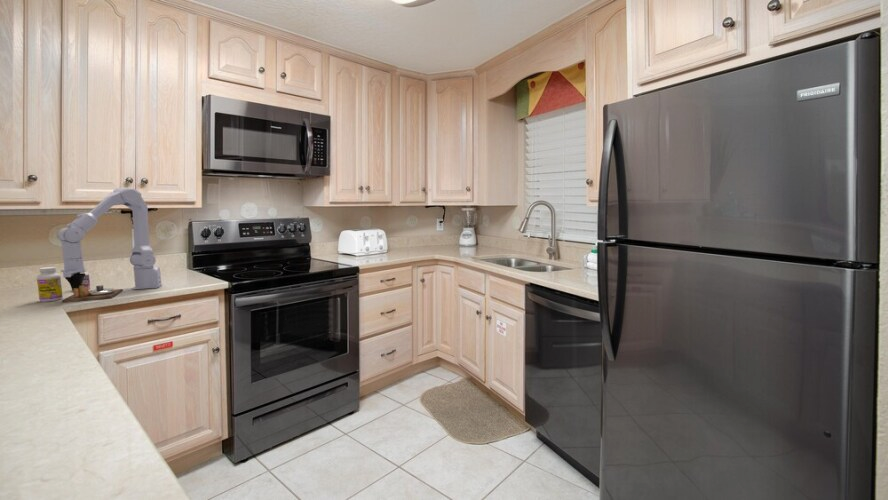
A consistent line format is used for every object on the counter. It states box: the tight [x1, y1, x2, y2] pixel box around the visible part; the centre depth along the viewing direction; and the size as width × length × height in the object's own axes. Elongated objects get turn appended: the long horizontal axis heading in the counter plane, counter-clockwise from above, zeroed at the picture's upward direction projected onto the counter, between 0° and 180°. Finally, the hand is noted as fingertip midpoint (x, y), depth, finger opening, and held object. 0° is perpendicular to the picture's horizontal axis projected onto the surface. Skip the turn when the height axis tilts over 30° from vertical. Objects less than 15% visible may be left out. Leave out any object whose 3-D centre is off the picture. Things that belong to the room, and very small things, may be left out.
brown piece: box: [61, 286, 124, 303], centre depth 166 cm, size 15×15×6 cm
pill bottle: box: [80, 267, 91, 290], centre depth 178 cm, size 5×5×10 cm
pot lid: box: [73, 284, 115, 297], centre depth 165 cm, size 12×9×3 cm
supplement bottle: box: [36, 266, 64, 303], centre depth 159 cm, size 7×7×13 cm
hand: (77, 292), depth 162 cm, fingers closed, pressing on pot lid
